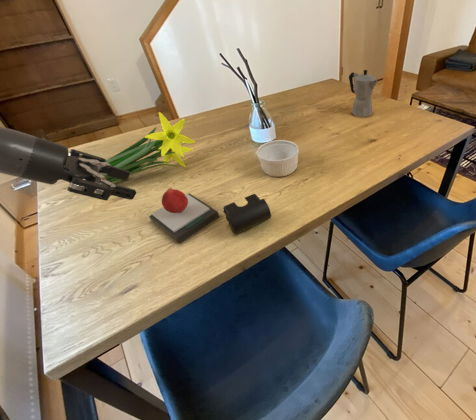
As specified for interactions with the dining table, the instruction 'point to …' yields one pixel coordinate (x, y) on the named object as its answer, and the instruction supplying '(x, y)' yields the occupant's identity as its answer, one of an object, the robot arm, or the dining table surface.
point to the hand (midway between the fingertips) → (131, 185)
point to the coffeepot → (362, 93)
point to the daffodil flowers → (152, 149)
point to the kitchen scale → (185, 219)
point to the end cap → (247, 213)
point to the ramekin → (278, 157)
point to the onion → (174, 201)
